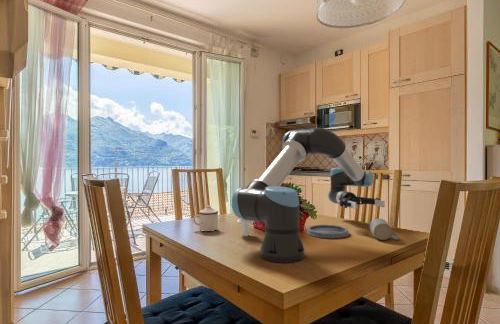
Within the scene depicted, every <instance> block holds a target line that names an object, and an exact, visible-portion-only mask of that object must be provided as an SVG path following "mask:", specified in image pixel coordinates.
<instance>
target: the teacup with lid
mask: <svg viewBox="0 0 500 324" xmlns="http://www.w3.org/2000/svg"><path fill="white" fill-rule="evenodd" d="M197 217H199V223H197V222H196V218H197ZM192 221H193V223H194V225H196V226H199V230H204V231H213V230H217V229H218V230H219V211H218V210H217V209H215V208H213V207H212V206H211V205H206V207H205V208H203V209H201V210H199V213H198V214H196V215H194V216H193V218H192ZM218 230H217V231H218Z"/></svg>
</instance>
